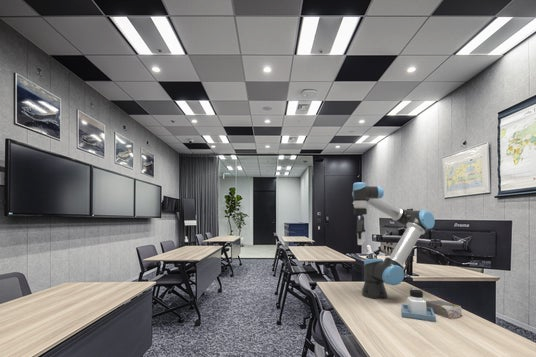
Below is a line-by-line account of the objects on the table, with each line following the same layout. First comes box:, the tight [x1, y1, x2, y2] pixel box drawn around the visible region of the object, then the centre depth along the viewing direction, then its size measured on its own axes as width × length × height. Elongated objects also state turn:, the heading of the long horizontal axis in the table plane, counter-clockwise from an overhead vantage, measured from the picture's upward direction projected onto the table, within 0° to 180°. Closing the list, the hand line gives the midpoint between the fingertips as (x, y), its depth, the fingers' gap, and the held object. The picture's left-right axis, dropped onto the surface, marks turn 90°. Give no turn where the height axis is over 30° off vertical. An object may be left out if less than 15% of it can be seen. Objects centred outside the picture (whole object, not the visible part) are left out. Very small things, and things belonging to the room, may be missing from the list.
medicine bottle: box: [407, 288, 427, 315], centre depth 150 cm, size 7×7×12 cm
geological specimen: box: [425, 299, 463, 320], centre depth 152 cm, size 11×6×15 cm
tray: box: [400, 303, 437, 323], centre depth 149 cm, size 15×15×2 cm
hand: (361, 243), depth 170 cm, fingers open, 13 cm apart
